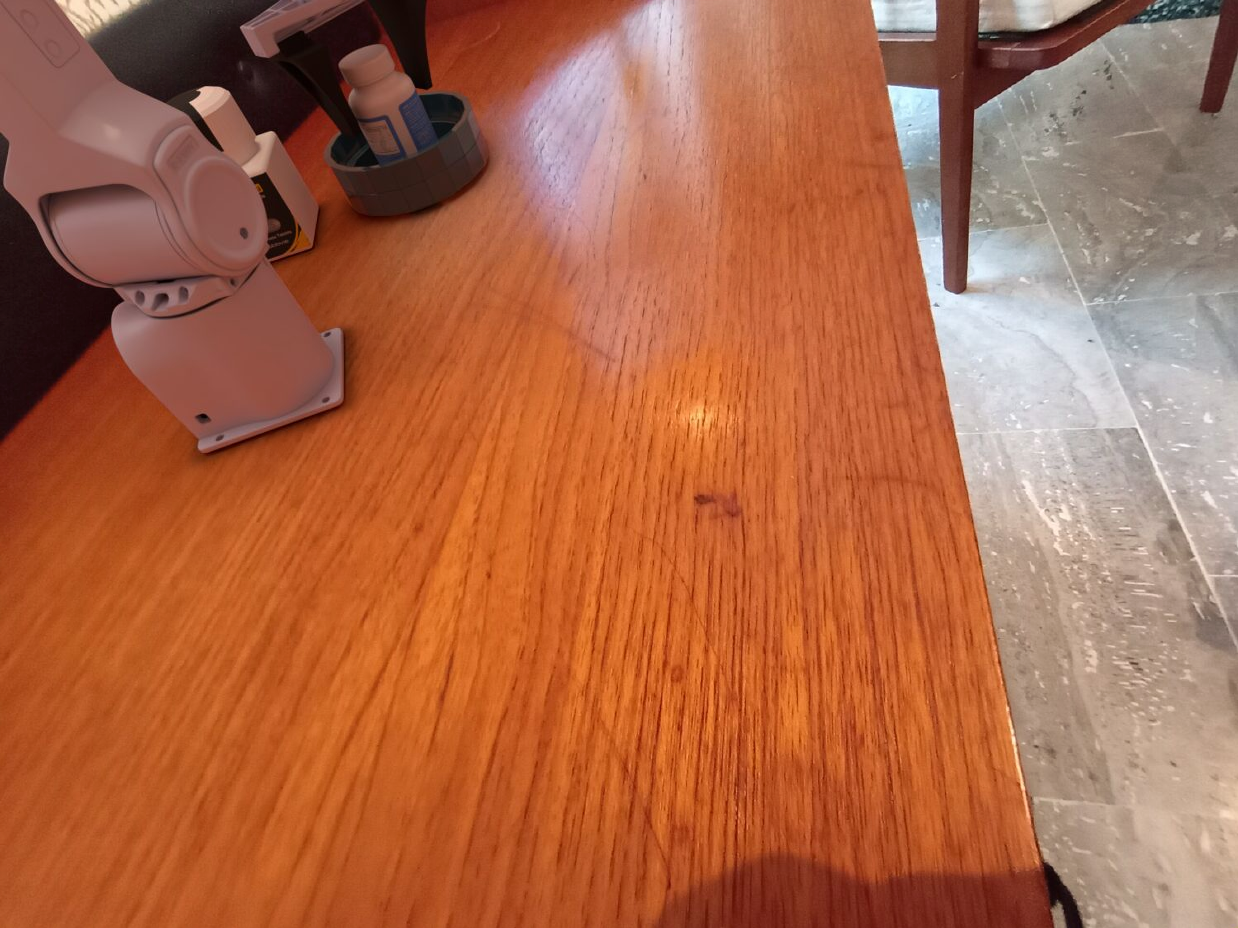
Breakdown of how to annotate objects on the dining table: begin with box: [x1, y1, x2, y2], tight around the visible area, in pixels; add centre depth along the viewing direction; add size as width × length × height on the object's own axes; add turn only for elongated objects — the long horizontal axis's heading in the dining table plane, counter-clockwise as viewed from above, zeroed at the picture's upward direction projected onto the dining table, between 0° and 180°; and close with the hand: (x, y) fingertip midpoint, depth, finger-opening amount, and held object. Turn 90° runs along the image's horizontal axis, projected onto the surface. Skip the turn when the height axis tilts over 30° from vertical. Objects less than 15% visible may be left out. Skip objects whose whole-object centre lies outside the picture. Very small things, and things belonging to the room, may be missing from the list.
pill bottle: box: [338, 43, 438, 164], centre depth 60 cm, size 6×5×10 cm
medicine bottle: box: [164, 85, 320, 263], centre depth 58 cm, size 7×7×12 cm
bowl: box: [323, 89, 490, 217], centre depth 62 cm, size 13×13×4 cm
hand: (388, 110), depth 59 cm, fingers open, 7 cm apart
